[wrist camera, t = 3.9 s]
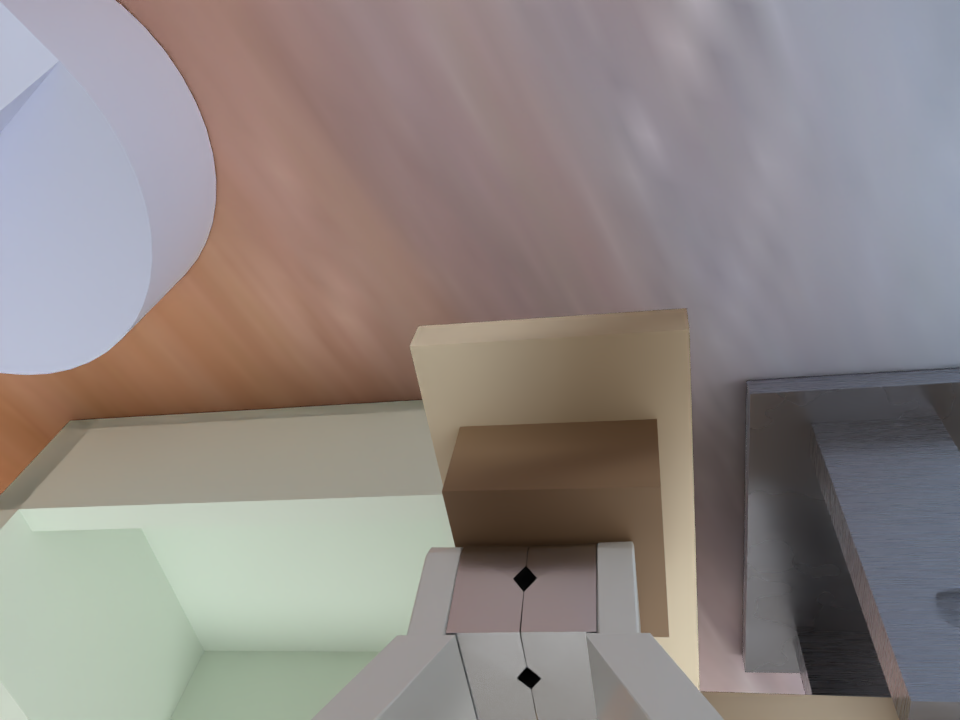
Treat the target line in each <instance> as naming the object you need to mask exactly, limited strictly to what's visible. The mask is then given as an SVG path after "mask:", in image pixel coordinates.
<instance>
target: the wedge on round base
mask: <svg viewBox="0 0 960 720" xmlns="http://www.w3.org/2000/svg"><path fill="white" fill-rule="evenodd" d="M215 205H216V173H215V166H214V158H213V152H212V148H211V144H210V141H209V137H208V133H207V129H206V126H205V124H204V121H203V119H202V116H201V114H200V111H199V109H198V106H197V104H196V101H195V100H194V98H193V96H192V94H191V92H190V90H189V88H188V86H187V84H186V83H185V81H184V79H183V77H182V75H181V74H180V72H179V71H178V69H177V68H176V67H175V65H174V64H173V62H172V61H171V59H170V58H169V56H168V55H167V53H166V52H165V50H164V49H163V48H162V47H161V46H160V45H159V43H158V42H157V41H156V40H155V39H154V37H153V36H152V35H151V34H150V33H149V32H148V30H147V29H146V28H145V27H144V26H143V25H142V24H141V23H140V22H139V21H138V20H137V19H136V18H135V17H134V16H133V15H132V14H130V13H129V12H128V11H127V10H126V9H125V8H124V7H123V6H122V5H121V4H120V3H118V2H117V1H116V0H0V373H5V374H20V375H35V374H50V373H55V372H60V371H65V370H70V369H73V368H75V367H78V366H81V365H83V364H86V363H89V362H91V361H92V360H94V359H96V358H98V357H99V356H101V355H103V354H104V353H106V352H107V351H109V350H110V349H111V348H112V347H113V346H114V345H115V344H117V343H118V342H119V341H120V340H121V339H122V338H123V337H124V336H125V335H126V334H127V333H128V332H129V331H130V330H131V329H132V328H133V327H134V326H135V325H136V324H137V323H138V322H139V321H140V320H141V319H142V318H143V317H144V316H145V315H146V314H147V313H148V312H149V311H150V310H151V309H152V308H153V307H154V306H155V305H156V304H157V303H158V302H159V301H160V300H161V299H162V298H163V297H164V296H165V295H166V294H167V292H168V291H169V290H170V289H171V288H172V287H173V286H174V285H175V284H176V283H177V282H178V281H179V280H180V279H181V278H182V277H183V276H184V275H185V274H186V273H187V272H188V270H189V269H190V268H191V267H192V265H193V264H194V263H195V262H196V260H197V259H198V257H199V255H200V253H201V251H202V249H203V248H204V246H205V244H206V242H207V239H208V236H209V232H210V229H211V226H212V223H213V218H214V211H215Z"/></svg>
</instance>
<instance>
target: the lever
mask: <svg viewBox="0 0 960 720" xmlns="http://www.w3.org/2000/svg"><path fill="white" fill-rule="evenodd" d="M410 350H411V355H412V359H413V363H414V367H415V371H416V375H417V379H418V384H419V388H420V392H421V396H422V400H423V404H424V409H425V413H426V417H427V421H428V425H429V429H430V433H431V438H432V442H433V446H434V450H435V454H436V458H437V463H438V467H439V471H440V475H441V479H442V483H443V489H442V495H443V499H444V503H445V507H446V511H447V515H448V519H449V523H450V528H451V532H452V536H453V540H454V544H455V547H472V546H529V547H530V546H534V545H559V544H584V543H597V544H598V543H605V542H628V541H632V542H633V544H634V551H635V564H636V576H637V589H638V601H639V613H640V626H641V633H651V635H652V636H653V637H654V638H655V639H656V640H657V642H658V643H659V644H660V645H661V646H662V647H663V649H664V650H665V651H666V652H667V653H668V655H669V656H670V657H671V658H672V659H673V660H674V662H675V663H676V664H677V665H678V666H679V667H680V669H681V670H682V671H683V672H684V673H685V674H686V676H687V677H688V678H689V679H690V680H691V681H692V683H693V684H694V685H695V686H696V687H697V688H698V690H699V691H700V689H699V653H698V618H697V582H696V547H695V511H694V476H693V440H692V404H691V369H690V333H689V323H688V315H687V308H683V309H668V310H653V311H638V312H623V313H608V314H593V315H578V316H563V317H548V318H533V319H518V320H503V321H488V322H473V323H459V324H444V325H429V326H418V328H417V330H416V333H415V335H414V337H413V340H412V342H411V344H410ZM700 692H701V693H702V694H703V695H704V697H705V698H706V699H707V700H708V701H709V703H710V704H711V705H712V706H713V707H714V708H715V710H716V711H717V712H718V713H719V714H720V715H721V717H722V718H723V719H724V720H899V718H898V715H897V712H896V709H895V706H894V703H893V700H892V698H890V697H859V696H827V695H796V694H765V693H733V692H702V691H700ZM537 720H538V718H537Z"/></svg>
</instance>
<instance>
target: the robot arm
mask: <svg viewBox="0 0 960 720" xmlns="http://www.w3.org/2000/svg"><path fill="white" fill-rule="evenodd" d="M537 718H538V720H724V719H723V718H722V717H721V715H720V714H719V713H718V712H717V711H716V710H715V708H714V707H713V706H712V705H711V704H710V703H709V701H708V700H707V699H706V698H705V697H704V695H703V694H702V693H701V692H700V691H699V690H698V688H697V687H696V686H695V685H694V684H693V683H692V681H691V680H690V679H689V678H688V677H687V676H686V674H685V673H684V672H683V671H682V670H681V669H680V667H679V666H678V665H677V664H676V663H675V662H674V660H673V659H672V658H671V657H670V656H669V655H668V653H667V652H666V651H665V650H664V649H663V647H662V646H661V645H660V644H659V643H658V642H657V640H656V639H655V638H654V637H653V636H652V635H651V633H641V626H640V613H639V601H638V589H637V576H636V564H635V551H634V544H633V542H632V541H628V542H605V543H598V544H597V543H584V544H559V545H534V546H530V547H529V546H472V547H431V549H430V550H429V552H428V553H427V555H426V557H425V562H424V566H423V570H422V574H421V578H420V582H419V586H418V591H417V595H416V599H415V603H414V607H413V611H412V615H411V619H410V624H409V628H408V632H407V635H397V636H396V637H395V638H394V639H393V640H392V641H391V642H390V643H389V644H388V645H387V646H386V647H385V648H384V649H383V650H382V651H381V652H380V653H379V654H378V655H377V656H376V657H375V658H374V659H372V660H371V661H370V662H369V663H368V664H367V665H366V666H365V667H364V668H363V669H362V670H361V671H360V672H359V673H358V674H357V675H356V676H355V677H354V678H353V679H352V680H351V681H350V682H349V683H348V684H347V685H346V686H345V687H344V688H343V689H342V690H341V691H340V692H339V693H338V694H337V695H336V696H335V697H334V698H333V699H332V700H331V701H330V702H329V703H328V704H327V705H326V706H324V707H323V708H322V709H321V710H320V711H319V712H318V713H317V714H316V715H315V716H314V717H313V718H312V719H311V720H537Z"/></svg>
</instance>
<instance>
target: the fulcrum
mask: <svg viewBox="0 0 960 720" xmlns="http://www.w3.org/2000/svg"><path fill="white" fill-rule="evenodd" d="M743 662H744V668H745V672H773V673H800V674H801V678H802V682H803V686H804V691H805V695H827V696H859V697H890V698H892V700H893V703H894V706H895V709H896V712H897V715H898V718H899V720H960V368H957V369H940V370H923V371H906V372H889V373H872V374H855V375H838V376H821V377H804V378H787V379H770V380H753V381H747V397H746V462H745V527H744V592H743Z"/></svg>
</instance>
